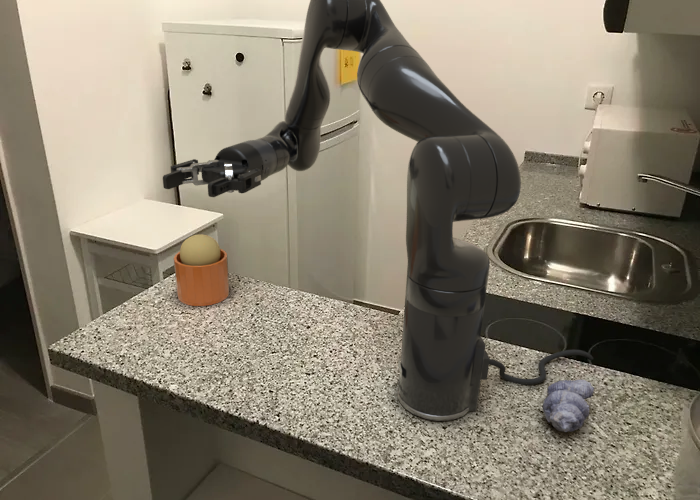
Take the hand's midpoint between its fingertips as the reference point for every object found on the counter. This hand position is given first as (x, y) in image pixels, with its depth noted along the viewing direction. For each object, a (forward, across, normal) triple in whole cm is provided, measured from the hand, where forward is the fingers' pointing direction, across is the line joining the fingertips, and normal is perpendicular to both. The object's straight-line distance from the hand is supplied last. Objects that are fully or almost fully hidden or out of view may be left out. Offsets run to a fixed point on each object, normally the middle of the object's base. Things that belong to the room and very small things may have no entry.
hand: (187, 186), depth 89 cm
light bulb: (-2, 0, +19) cm, 19 cm away
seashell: (+5, +58, +20) cm, 62 cm away
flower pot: (-2, 0, +19) cm, 19 cm away
